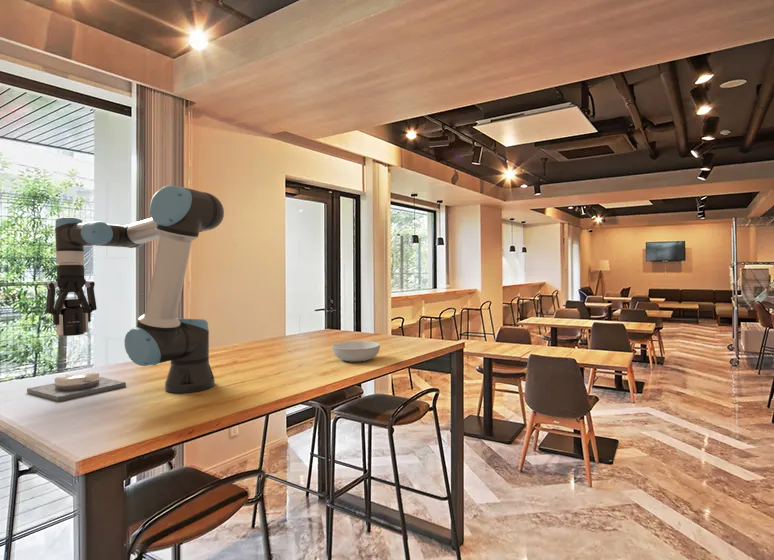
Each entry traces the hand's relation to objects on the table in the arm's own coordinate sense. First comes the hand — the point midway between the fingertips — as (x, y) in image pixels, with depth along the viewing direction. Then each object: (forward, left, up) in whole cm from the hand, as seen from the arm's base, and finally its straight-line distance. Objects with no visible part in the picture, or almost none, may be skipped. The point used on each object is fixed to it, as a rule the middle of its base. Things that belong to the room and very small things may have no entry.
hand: (72, 333), depth 148 cm
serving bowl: (-57, -84, -19) cm, 103 cm away
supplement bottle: (0, 0, -1) cm, 1 cm away
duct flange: (-4, +1, -18) cm, 19 cm away
